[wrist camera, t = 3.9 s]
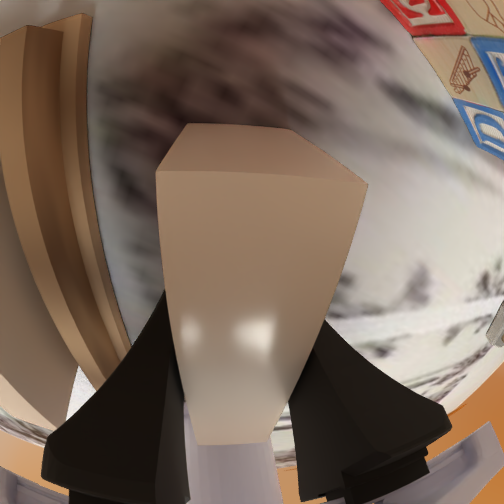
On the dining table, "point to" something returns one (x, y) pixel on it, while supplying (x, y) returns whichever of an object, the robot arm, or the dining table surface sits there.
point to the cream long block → (29, 338)
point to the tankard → (497, 329)
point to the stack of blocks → (464, 58)
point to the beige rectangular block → (249, 267)
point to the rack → (58, 187)
